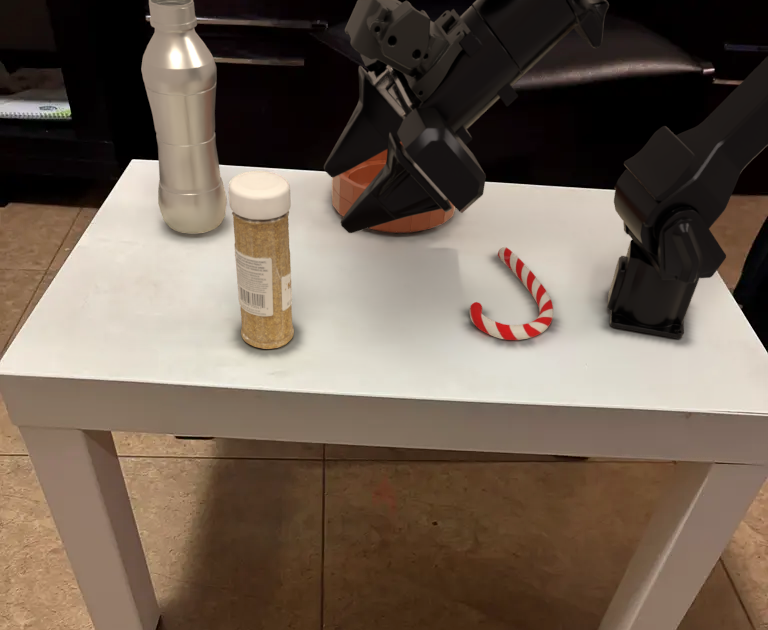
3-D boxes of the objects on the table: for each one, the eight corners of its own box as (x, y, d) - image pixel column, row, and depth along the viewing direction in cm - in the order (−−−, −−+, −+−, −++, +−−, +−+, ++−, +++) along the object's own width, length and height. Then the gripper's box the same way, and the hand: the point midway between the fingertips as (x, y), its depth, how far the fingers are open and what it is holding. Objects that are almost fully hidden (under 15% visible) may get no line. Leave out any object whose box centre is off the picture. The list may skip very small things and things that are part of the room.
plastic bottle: (148, 224, 83) (113, -3, 68) (202, 204, 86) (179, -16, 72) (188, 249, 80) (161, 17, 65) (242, 227, 83) (227, 2, 69)
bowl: (463, 191, 92) (469, 150, 89) (442, 246, 83) (447, 203, 80) (349, 172, 94) (351, 132, 90) (316, 225, 85) (316, 182, 81)
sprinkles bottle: (304, 337, 71) (302, 184, 61) (262, 358, 68) (253, 201, 59) (271, 314, 73) (263, 163, 63) (229, 333, 70) (215, 178, 61)
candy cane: (537, 245, 82) (563, 331, 71) (534, 258, 83) (560, 344, 72) (459, 242, 81) (474, 328, 71) (457, 254, 82) (472, 341, 72)
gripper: (397, -93, 58) (247, 75, 64) (461, -18, 45) (268, 181, 52) (487, 33, 65) (344, 173, 71) (564, 127, 52) (383, 288, 59)
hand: (335, 199), depth 63 cm, fingers open, 9 cm apart
